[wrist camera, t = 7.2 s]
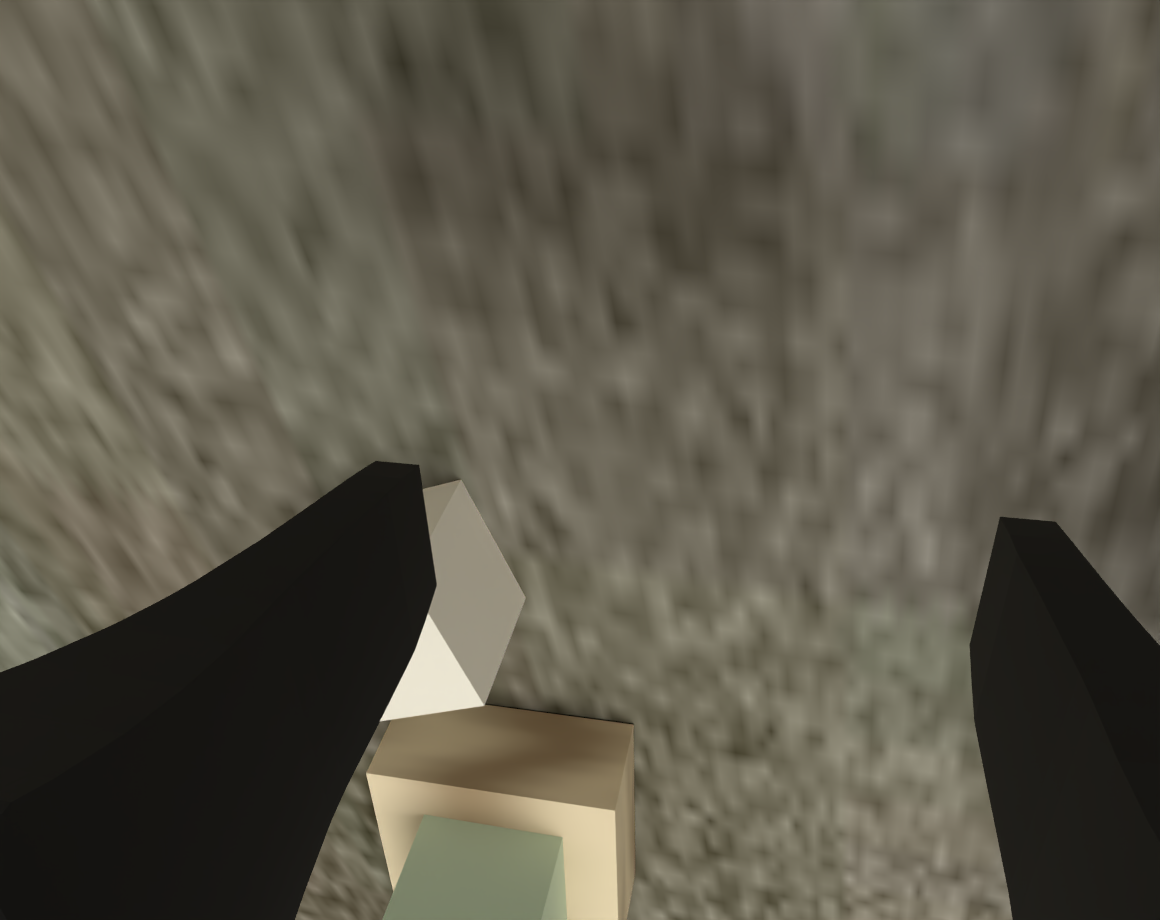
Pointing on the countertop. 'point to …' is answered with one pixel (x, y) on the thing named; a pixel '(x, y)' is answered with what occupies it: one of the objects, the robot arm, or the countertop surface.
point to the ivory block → (459, 612)
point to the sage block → (479, 874)
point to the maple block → (517, 791)
